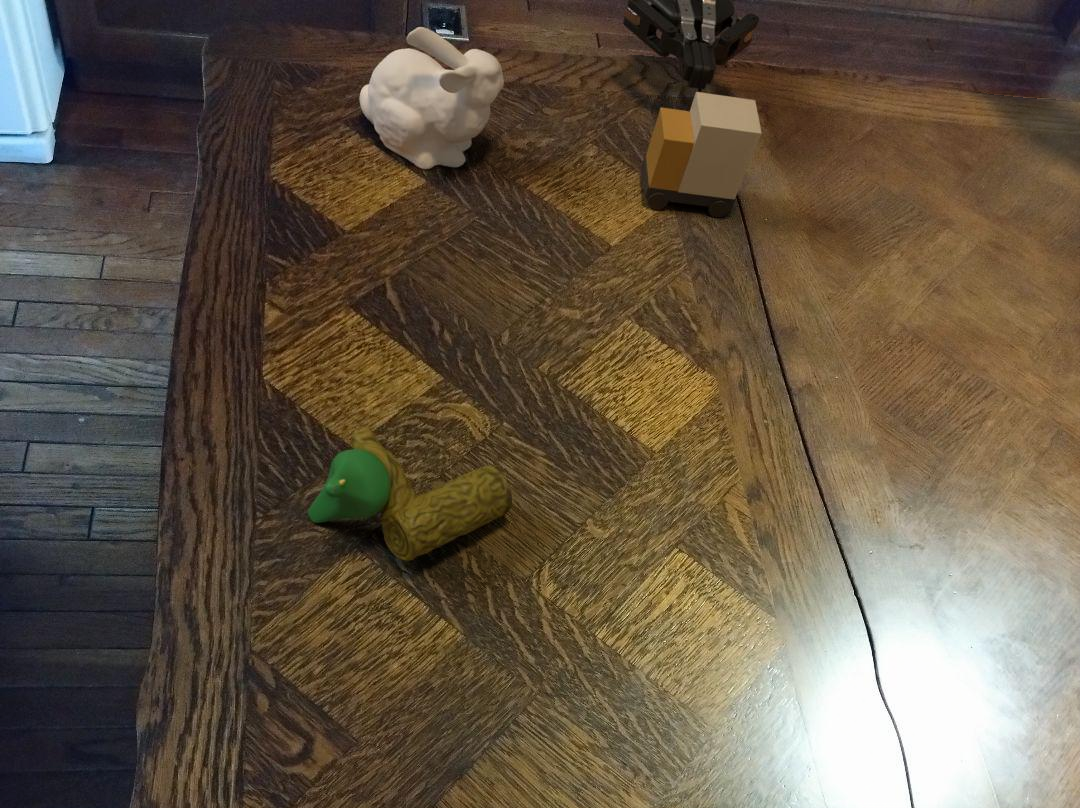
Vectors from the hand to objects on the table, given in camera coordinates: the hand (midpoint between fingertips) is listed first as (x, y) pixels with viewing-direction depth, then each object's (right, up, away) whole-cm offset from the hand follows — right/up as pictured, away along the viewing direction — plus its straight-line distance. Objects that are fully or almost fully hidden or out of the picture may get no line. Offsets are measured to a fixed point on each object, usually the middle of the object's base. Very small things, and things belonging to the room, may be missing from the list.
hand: (700, 79), depth 86 cm
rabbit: (-24, -6, +1) cm, 24 cm away
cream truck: (-1, -9, +3) cm, 10 cm away
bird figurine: (-24, -41, -20) cm, 52 cm away
